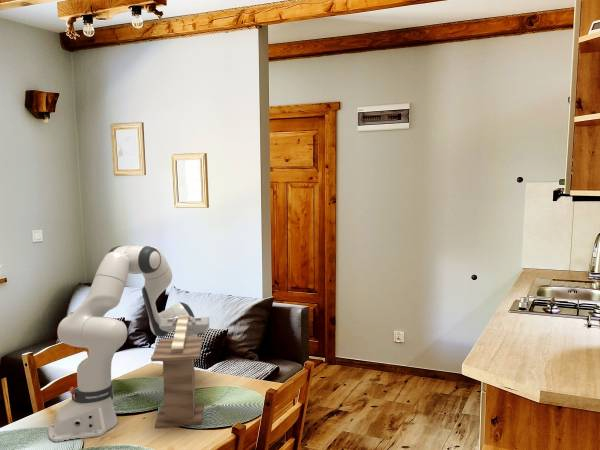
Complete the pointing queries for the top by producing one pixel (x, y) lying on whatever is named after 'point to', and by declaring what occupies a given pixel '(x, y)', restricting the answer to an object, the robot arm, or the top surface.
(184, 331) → the birch slat
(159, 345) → the walnut stand
